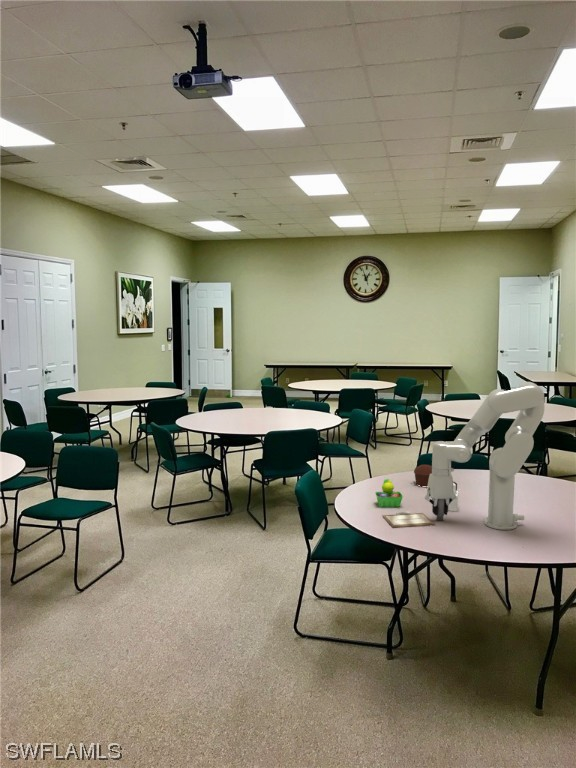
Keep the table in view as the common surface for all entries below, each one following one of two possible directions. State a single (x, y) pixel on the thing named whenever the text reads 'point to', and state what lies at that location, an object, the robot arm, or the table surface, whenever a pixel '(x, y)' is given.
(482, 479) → the table surface
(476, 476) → the table surface
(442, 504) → the marker
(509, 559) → the table surface
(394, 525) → the clipboard
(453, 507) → the white handled container
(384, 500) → the fruit basket
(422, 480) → the muffin
